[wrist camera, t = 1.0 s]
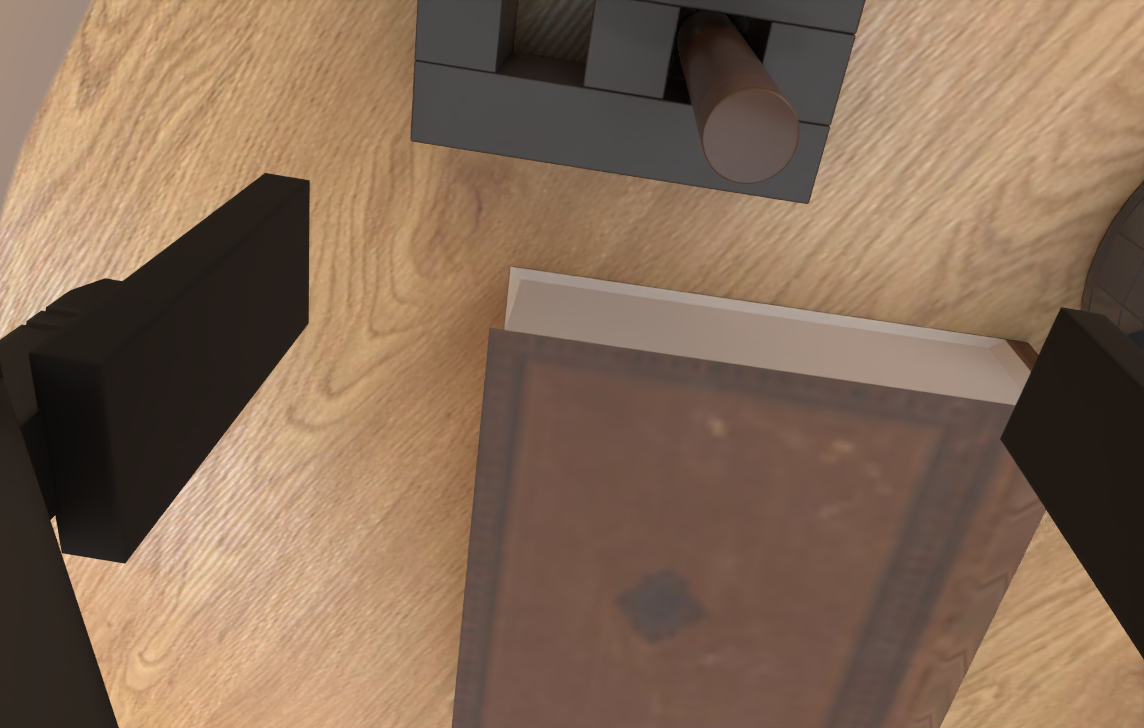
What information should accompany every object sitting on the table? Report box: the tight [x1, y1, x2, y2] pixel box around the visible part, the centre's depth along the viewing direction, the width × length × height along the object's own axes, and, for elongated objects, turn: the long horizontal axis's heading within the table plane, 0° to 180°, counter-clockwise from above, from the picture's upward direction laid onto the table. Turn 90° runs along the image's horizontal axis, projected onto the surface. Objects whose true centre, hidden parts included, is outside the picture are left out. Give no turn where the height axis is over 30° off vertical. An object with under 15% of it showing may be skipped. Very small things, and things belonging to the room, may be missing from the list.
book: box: [452, 267, 1046, 728], centre depth 45 cm, size 24×28×7 cm
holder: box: [411, 0, 866, 204], centre depth 34 cm, size 9×15×5 cm, turn 82°
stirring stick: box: [677, 10, 800, 184], centre depth 29 cm, size 2×2×16 cm
